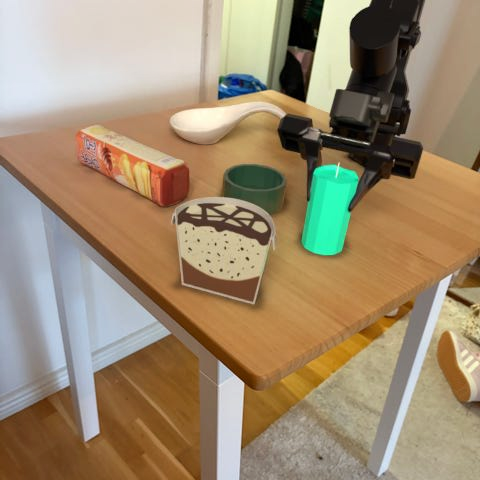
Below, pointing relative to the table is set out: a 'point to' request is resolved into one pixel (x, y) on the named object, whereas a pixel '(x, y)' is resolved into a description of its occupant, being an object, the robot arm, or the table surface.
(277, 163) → the table surface
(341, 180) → the candle
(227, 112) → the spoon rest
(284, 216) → the table surface
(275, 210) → the bowl
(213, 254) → the food container
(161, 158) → the snack package
